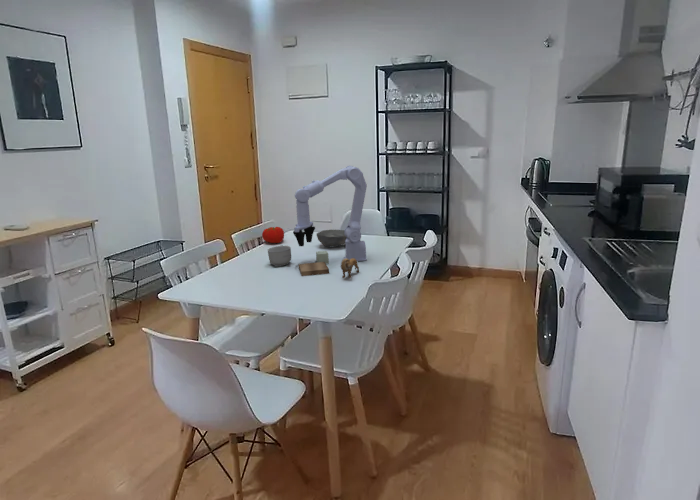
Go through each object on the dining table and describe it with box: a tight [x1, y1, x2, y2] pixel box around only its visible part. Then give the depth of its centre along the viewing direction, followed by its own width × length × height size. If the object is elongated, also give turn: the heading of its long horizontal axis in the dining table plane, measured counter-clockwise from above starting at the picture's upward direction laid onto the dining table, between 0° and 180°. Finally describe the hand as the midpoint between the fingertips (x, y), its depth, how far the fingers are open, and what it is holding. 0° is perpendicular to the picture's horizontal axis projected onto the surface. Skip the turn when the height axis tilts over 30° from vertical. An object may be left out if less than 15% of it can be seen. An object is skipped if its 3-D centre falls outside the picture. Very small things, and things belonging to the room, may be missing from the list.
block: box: [315, 250, 330, 265], centre depth 217 cm, size 5×5×5 cm
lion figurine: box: [340, 258, 360, 279], centre depth 196 cm, size 15×5×9 cm, turn 163°
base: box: [298, 261, 330, 277], centre depth 204 cm, size 12×12×2 cm
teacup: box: [267, 244, 292, 267], centre depth 217 cm, size 14×11×8 cm
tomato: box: [261, 226, 285, 244], centre depth 258 cm, size 14×13×9 cm
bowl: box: [316, 229, 347, 248], centre depth 246 cm, size 18×18×8 cm
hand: (305, 244), depth 213 cm, fingers open, 7 cm apart
